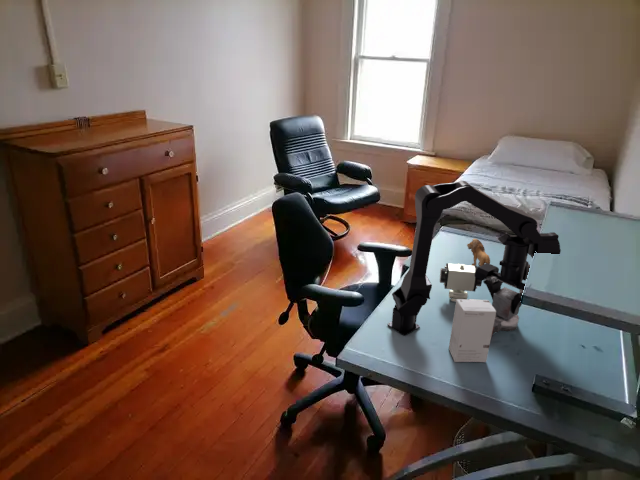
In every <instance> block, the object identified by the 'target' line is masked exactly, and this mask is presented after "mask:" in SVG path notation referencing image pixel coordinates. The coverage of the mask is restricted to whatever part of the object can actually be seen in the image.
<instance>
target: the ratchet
mask: <svg viewBox="0 0 640 480" xmlns="http://www.w3.org/2000/svg"><path fill="white" fill-rule="evenodd" d="M519 320H520V317H519V315H518V314H517V315H515V316H514V317H512V318H510V319H509V320H506V319H504V318H502V317H500V316H498V315H496V316H495V321H494V326H493V330H492V336H491V338H492V337H493V336H494V334H496V333H498V332H500V331H501V332H508V333H509V332H513V331H515V330H517V329H518V323H519Z"/></svg>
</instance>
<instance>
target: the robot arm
mask: <svg viewBox="0 0 640 480" xmlns="http://www.w3.org/2000/svg"><path fill="white" fill-rule="evenodd" d="M463 202H467V203H469V204H470V205H471V206H474V207H475V208H477V209H479V210H480V211H482V212H483V213H486V214H488V215H489V216H491V217H493V218H494V219H496V220H498V221H500V222H501V223H502V224H503V225H504V226H505V227H507V228H508V229H509V230H510V231H511V232H512V233H514V234H515V235H510V234H509V233H507V232H505V233H504V234H502V235H501V236H499V237H497V240H498V241H499V242H500V243H501V245H503V246H504V251H503V254H502V255H503V256H502V260H500V261H499V264H498V265H499V266H501V267H500V269H499V267H498V266H496V265H494V264H491V263H490V264H489V263H485V264H484V265H482V266H480V265H479V266H477V268H476V270H475V274H474V276H475V277H476V278H479V279H481V280H482V281H483V284H485V286H486V287H487V290H488V291H489V294H490V297H491V300H492V301H493V296H494V293H495V292H497V291H498V290H500V289H502V285H503V283H504V284H505V285H507V286H510V287H512V288H515V289H518V290H519V292H517V293H518V294H516V295H515V296H514V302H513V310H512V311H513V314H515V313H516V312H517V311H518V309H519V310H520V308H521V306H522V305H523V304H521V302H520V301H521V296H522V293H523V290H524V286H525V284H526V283H524V282H523V281H527V280H528V278H527V275H528V272H529V268H530V265H531V264H530V263H529V261H527V260H528V255H529V256H530V257H531V258H532V259H533V256H534V253H536V252H537V253H551V254H561V251H562V250H561V244H560V240H559V234H557V233H556V232H553V231H552V232H546V233H545V232H543V233H541V232H539V231H538V229H537V228H538V221H537V220H536V219H535V218H533V217H532V216H531V215H529V213H527V212H526V211H524V210H522V209H520V208H517V207H514V206H510V205H506V204H503V203H501V202H500V201H498V200H497V199H494V198H493V197H492V196H489V195H488V194H486V193H484V192H483V191H482V190H479V189H477V188H476V187H474V186H473V185H472V184H470V183H469V182H468V181H466V180H458V181H455V182H449V183H448V182H447V183H439V184H434V185H429V184H427V185H426V184H425V185H423V186H421V187H419V188H417V190H416V192H415V195H414V205H415V214H416V226H415V230H414V231H415V232H414V239H413V242H412V243H413V245H412V248H411V249H412V251H411V255H410V263H409V268H408V271H407V272H406V274H405V275H404V277H403V279H402V282H401V285H400V286H399V287H398V288H397V289H396V290H394V291H393V292H392V293H391V296H392V299H393V301H394V304H395V305H394V307H393V308H392V317H391V321H389V322H388V323H387V326H388V327H389V328H390V329H393V330H394V331H396V332H397V333H399V334H400V335H402V336H408V335H409V334H410V333H412V332H415V331H416V330H418V329H419V328H420V327H421V326H420V324H418V323H417V317H418V315H419V313H420V311H421V309H422V307H423V306H425V305H426V304H427V303H428V300H431V297H430V296H431V295H430V293H431V291H432V286H433V284H432V283H431V281H430V279H429V278H428V275H427V269H428V264H429V260H430V259H429V258H430V252H431V248H432V241H433V238H434V236H433V235H434V231H435V227H436V224H437V223H438V221H439V220H440V219H441V217H442V214H443V212H444V211H445V210H448V209H451V208H453V207H456V206H457V205H459V204H460V203H463ZM535 251H536V252H535ZM499 271H500V272H499ZM526 279H527V280H526Z"/></svg>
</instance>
